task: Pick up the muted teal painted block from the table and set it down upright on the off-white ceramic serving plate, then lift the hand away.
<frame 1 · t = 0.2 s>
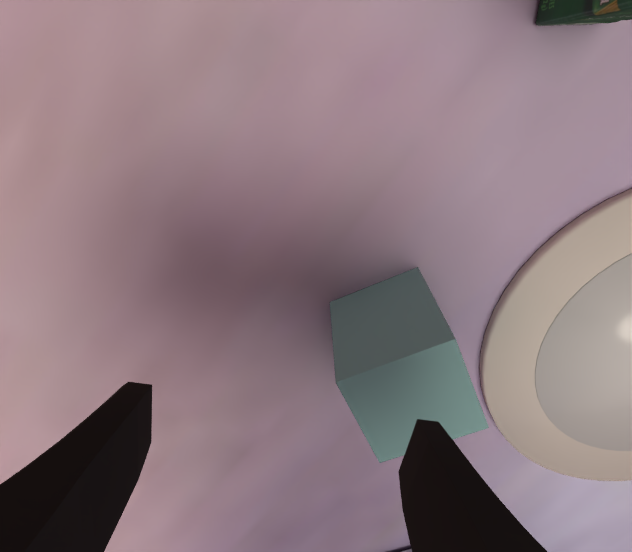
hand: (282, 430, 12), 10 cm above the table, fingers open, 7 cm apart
teal block: (389, 321, 22), on the table
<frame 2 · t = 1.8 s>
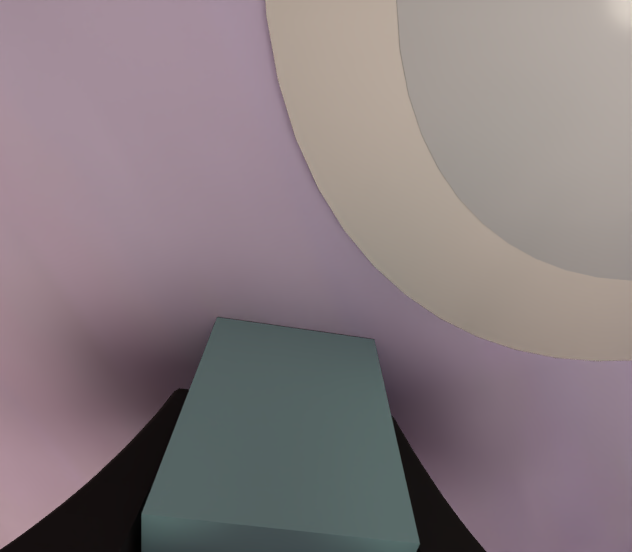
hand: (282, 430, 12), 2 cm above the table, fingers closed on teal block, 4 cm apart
teal block: (285, 390, 13), on the table, touching gripper
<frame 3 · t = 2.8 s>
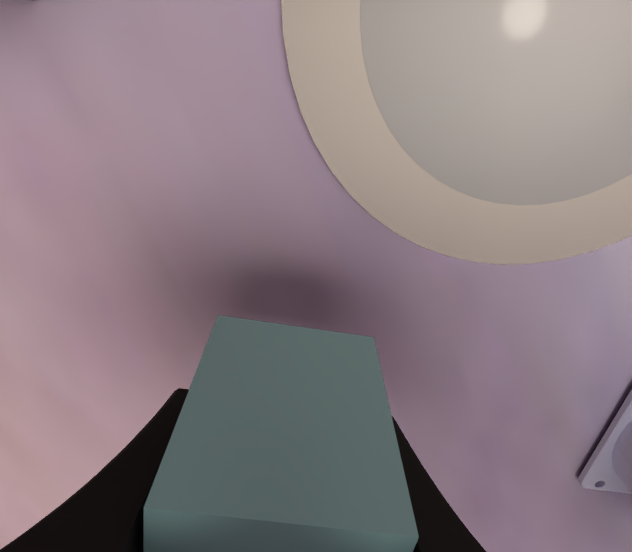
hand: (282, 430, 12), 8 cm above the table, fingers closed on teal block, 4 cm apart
teal block: (285, 388, 13), point 6 cm above the table, touching gripper
serving plate: (552, 8, 15), on the table
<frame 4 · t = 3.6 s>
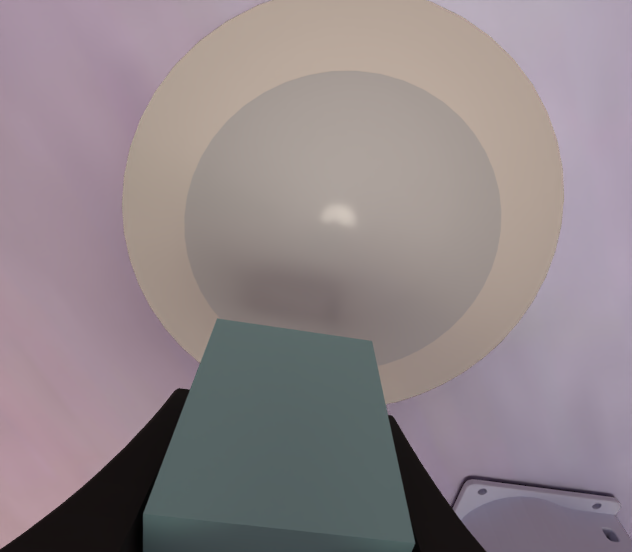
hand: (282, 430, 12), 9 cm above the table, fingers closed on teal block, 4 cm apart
teal block: (284, 390, 14), point 7 cm above the table, touching gripper
serving plate: (341, 236, 19), on the table
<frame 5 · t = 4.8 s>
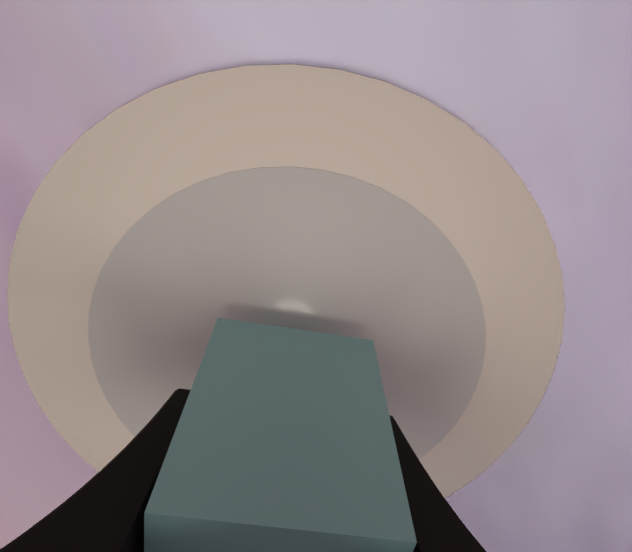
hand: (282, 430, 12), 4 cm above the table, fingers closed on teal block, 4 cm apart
teal block: (285, 390, 14), point 2 cm above the table, touching gripper
serving plate: (289, 348, 15), on the table
when the fingers open (4 cm above the table, at t = 5.7 s): teal block stays where it is, resting on serving plate.
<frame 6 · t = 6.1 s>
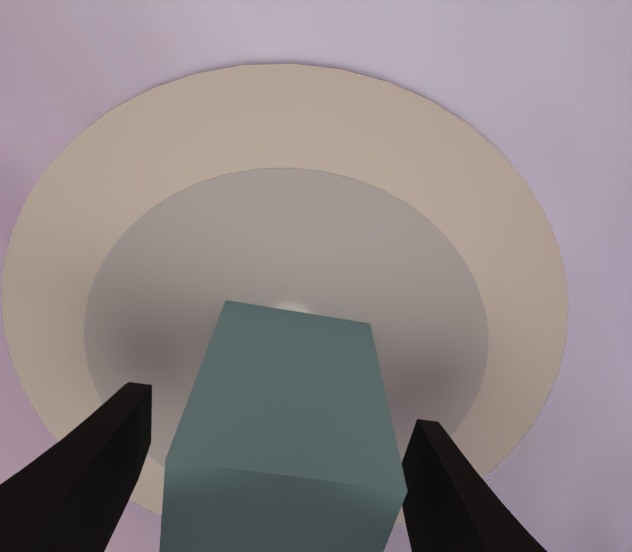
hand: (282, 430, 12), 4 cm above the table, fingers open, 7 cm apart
teal block: (287, 370, 14), point 1 cm above the table, touching serving plate
serving plate: (289, 352, 15), on the table
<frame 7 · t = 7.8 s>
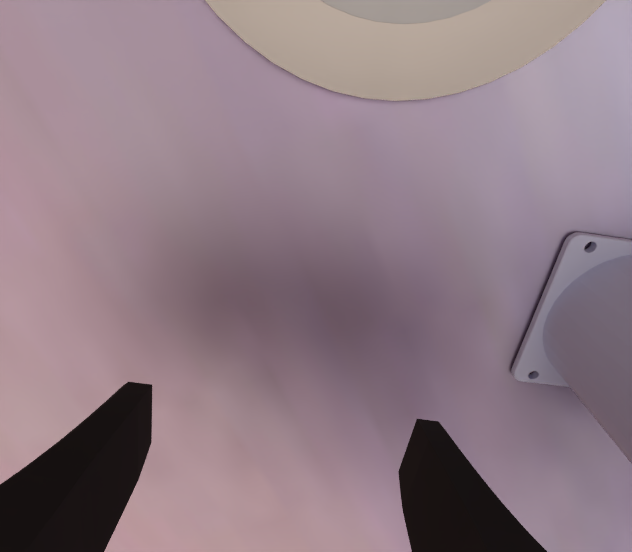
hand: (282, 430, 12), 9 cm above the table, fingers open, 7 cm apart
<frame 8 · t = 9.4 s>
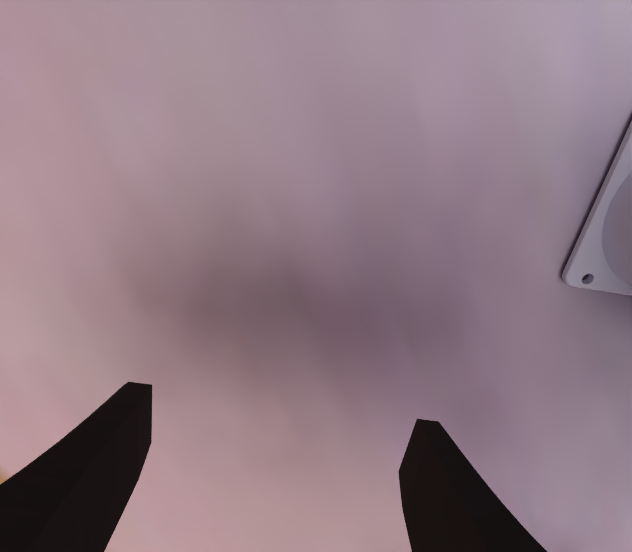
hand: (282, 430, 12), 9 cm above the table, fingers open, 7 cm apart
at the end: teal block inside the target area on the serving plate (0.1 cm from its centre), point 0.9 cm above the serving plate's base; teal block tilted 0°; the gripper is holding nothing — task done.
